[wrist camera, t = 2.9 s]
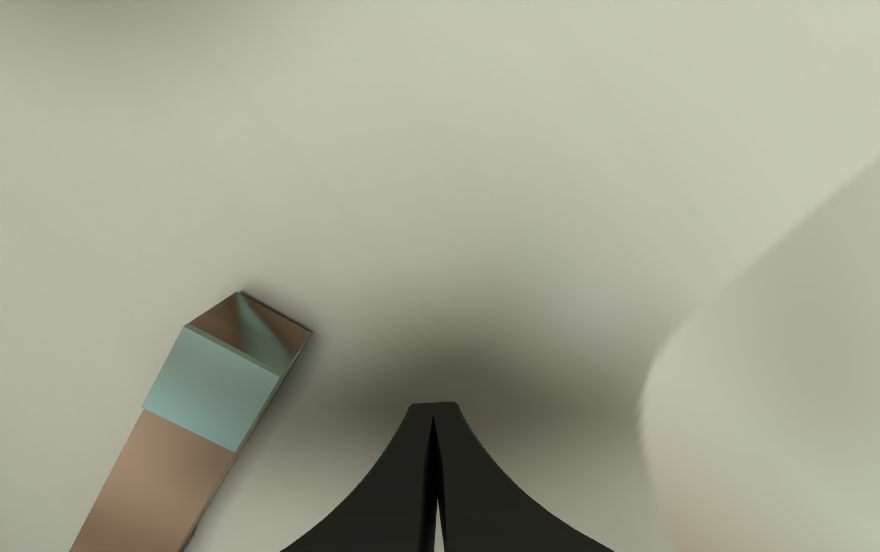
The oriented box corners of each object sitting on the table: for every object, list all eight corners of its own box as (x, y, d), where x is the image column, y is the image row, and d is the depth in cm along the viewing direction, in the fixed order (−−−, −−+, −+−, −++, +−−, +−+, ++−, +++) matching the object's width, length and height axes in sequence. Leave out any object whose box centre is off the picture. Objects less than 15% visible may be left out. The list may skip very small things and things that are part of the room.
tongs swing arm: (120, 656, 15) (57, 756, 13) (50, 629, 15) (-29, 727, 12) (314, 334, 12) (284, 379, 10) (233, 289, 12) (179, 324, 9)
